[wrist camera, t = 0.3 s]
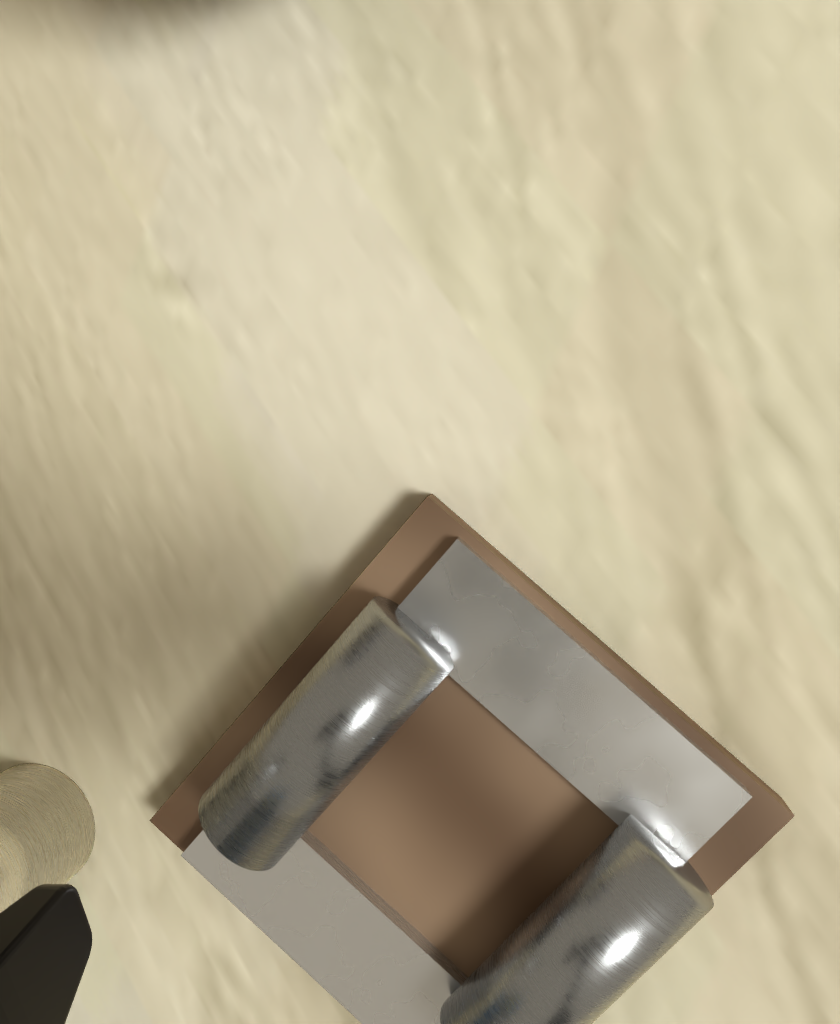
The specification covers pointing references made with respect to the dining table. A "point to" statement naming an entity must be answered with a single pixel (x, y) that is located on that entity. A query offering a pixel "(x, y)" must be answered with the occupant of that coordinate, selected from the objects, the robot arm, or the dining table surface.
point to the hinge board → (464, 779)
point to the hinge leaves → (542, 726)
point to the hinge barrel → (41, 830)
